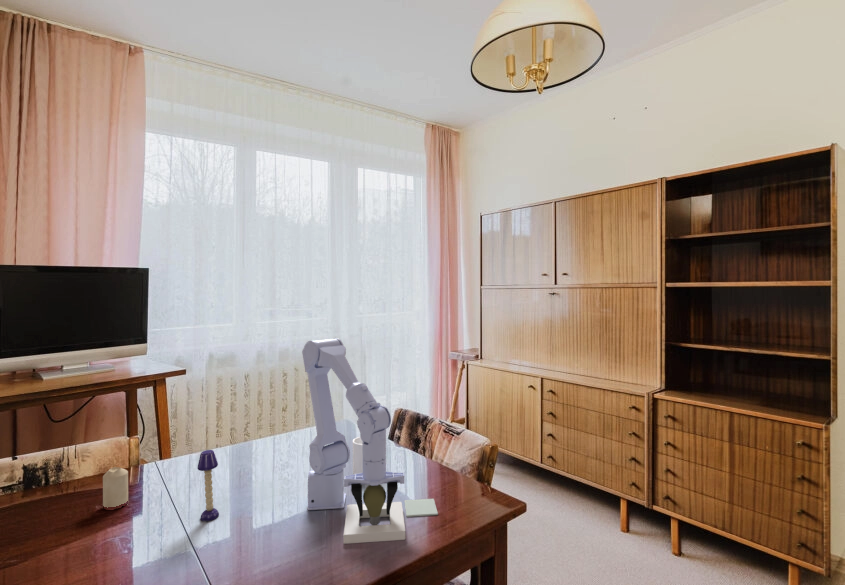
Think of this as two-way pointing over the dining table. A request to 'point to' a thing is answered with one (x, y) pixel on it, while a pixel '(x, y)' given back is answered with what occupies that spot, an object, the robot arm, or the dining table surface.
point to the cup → (357, 455)
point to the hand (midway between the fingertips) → (374, 513)
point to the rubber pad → (420, 507)
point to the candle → (115, 487)
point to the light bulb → (374, 502)
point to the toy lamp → (208, 483)
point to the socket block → (374, 532)
